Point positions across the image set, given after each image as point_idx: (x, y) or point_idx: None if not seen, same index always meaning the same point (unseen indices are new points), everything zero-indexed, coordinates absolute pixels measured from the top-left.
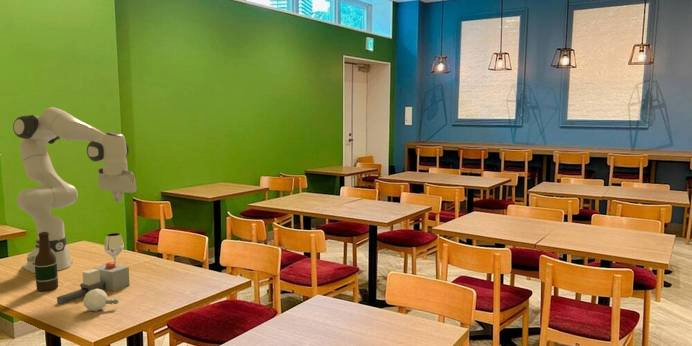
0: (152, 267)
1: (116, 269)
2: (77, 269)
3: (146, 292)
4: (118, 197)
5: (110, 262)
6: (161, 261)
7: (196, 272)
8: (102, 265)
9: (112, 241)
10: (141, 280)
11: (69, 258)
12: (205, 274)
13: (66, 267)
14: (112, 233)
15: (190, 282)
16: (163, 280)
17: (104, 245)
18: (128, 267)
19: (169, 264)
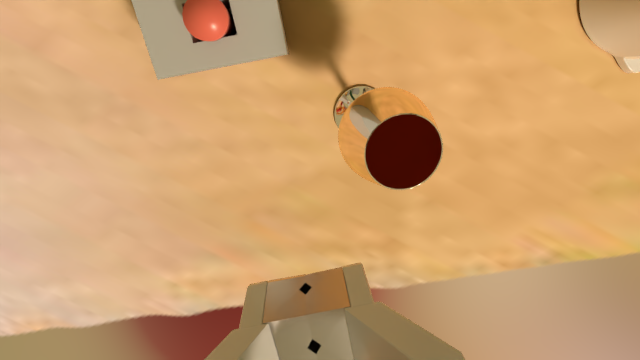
0: (317, 227)
1: (156, 20)
2: (530, 41)
3: (58, 72)
4: (236, 335)
5: (221, 26)
6: None
7: (153, 285)
8: (272, 9)
9: (360, 119)
10: (206, 130)
11: (633, 48)
12: (112, 291)
13: (582, 15)
14: (437, 164)
15: (64, 223)
16: (149, 179)
17: (404, 92)
18: (158, 78)
19: None
